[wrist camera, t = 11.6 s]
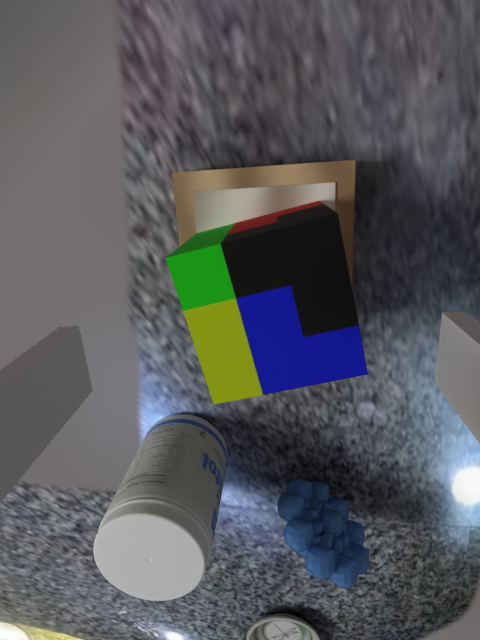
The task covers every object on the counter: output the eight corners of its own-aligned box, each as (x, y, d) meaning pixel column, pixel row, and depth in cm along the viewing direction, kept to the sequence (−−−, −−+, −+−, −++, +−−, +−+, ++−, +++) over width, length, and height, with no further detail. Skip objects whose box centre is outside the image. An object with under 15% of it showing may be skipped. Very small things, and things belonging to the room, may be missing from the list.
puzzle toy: (342, 319, 35) (368, 374, 26) (229, 344, 37) (213, 404, 27) (319, 200, 32) (337, 213, 22) (196, 233, 33) (165, 257, 24)
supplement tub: (242, 466, 47) (229, 589, 33) (170, 490, 49) (129, 616, 35) (204, 397, 44) (172, 500, 31) (129, 426, 46) (68, 534, 33)
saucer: (278, 589, 53) (278, 607, 51) (334, 625, 55) (337, 645, 53) (232, 626, 56) (231, 645, 54) (287, 659, 58) (288, 679, 56)
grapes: (254, 478, 48) (248, 574, 36) (294, 442, 45) (300, 532, 34) (329, 533, 49) (345, 640, 38) (370, 500, 47) (400, 604, 36)
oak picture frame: (345, 161, 35) (356, 159, 31) (342, 315, 40) (351, 335, 35) (184, 172, 37) (171, 172, 32) (199, 320, 41) (190, 339, 37)
